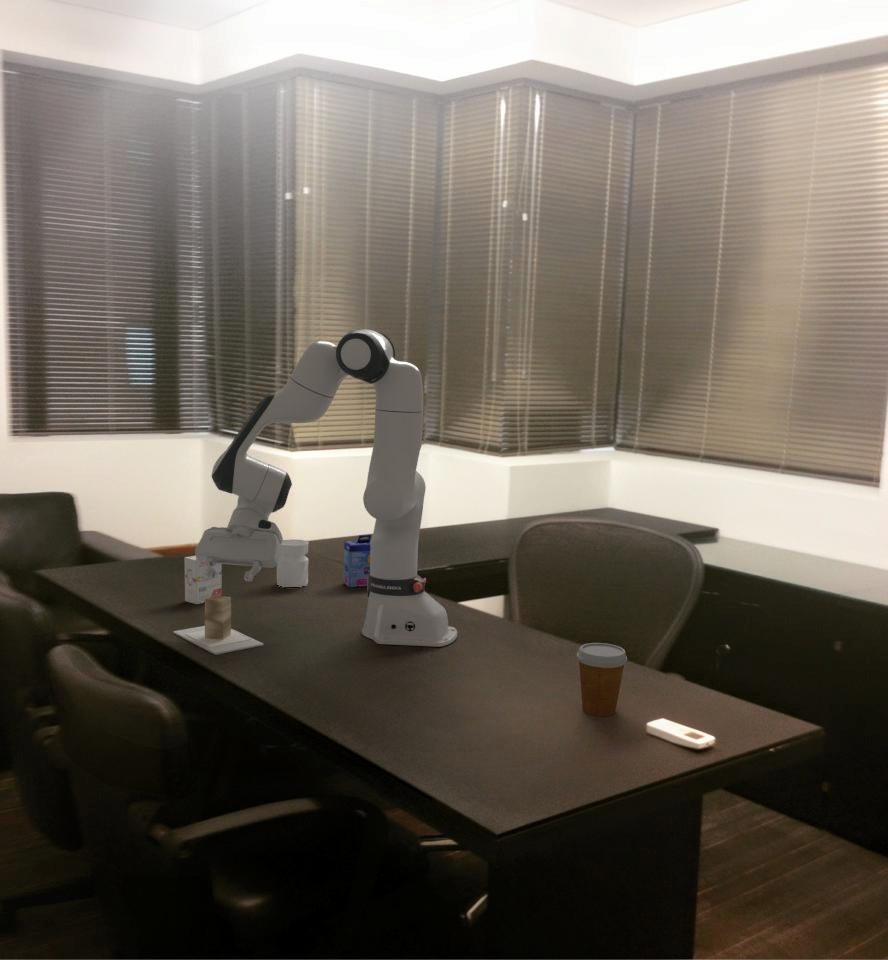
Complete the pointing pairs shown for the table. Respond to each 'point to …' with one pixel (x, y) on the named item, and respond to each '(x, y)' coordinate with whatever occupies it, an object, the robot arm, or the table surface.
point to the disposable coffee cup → (600, 677)
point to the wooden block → (217, 617)
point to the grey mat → (215, 645)
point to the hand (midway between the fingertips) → (228, 578)
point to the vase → (293, 564)
